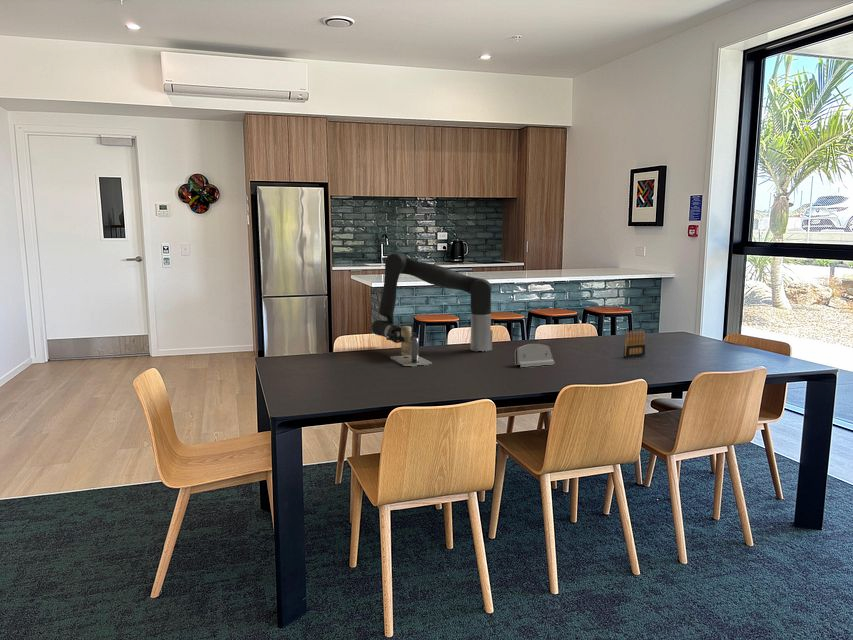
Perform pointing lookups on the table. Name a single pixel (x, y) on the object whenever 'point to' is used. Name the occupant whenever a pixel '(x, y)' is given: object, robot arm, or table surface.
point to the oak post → (406, 340)
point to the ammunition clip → (634, 344)
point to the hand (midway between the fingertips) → (408, 339)
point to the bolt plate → (408, 361)
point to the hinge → (533, 355)
